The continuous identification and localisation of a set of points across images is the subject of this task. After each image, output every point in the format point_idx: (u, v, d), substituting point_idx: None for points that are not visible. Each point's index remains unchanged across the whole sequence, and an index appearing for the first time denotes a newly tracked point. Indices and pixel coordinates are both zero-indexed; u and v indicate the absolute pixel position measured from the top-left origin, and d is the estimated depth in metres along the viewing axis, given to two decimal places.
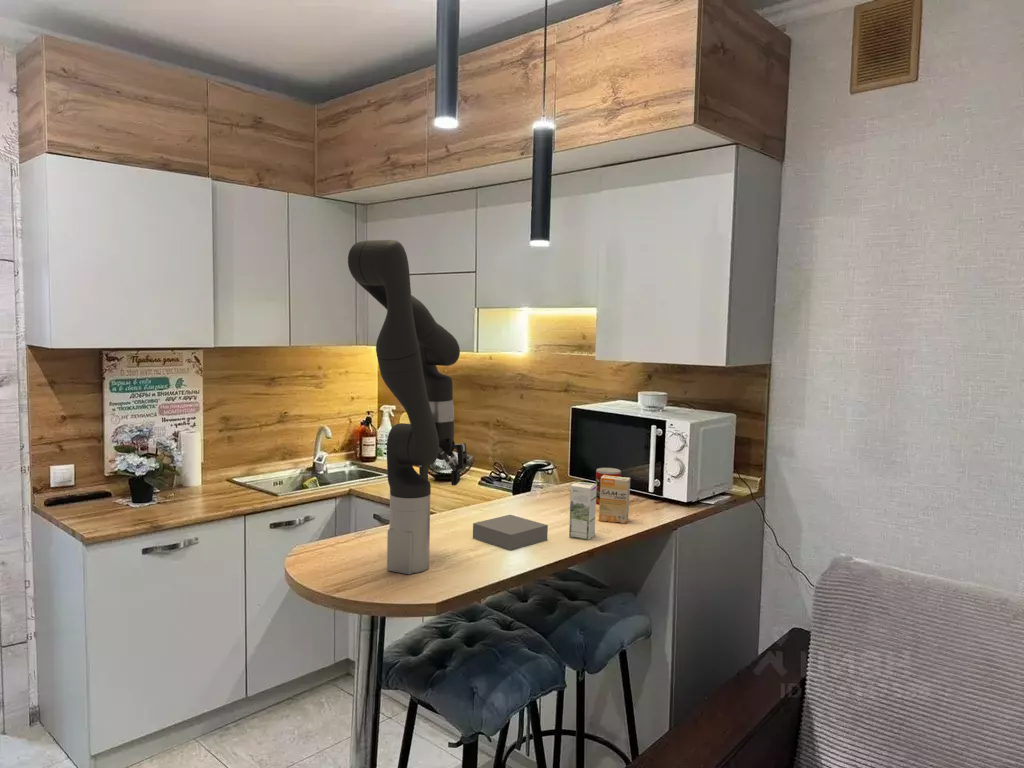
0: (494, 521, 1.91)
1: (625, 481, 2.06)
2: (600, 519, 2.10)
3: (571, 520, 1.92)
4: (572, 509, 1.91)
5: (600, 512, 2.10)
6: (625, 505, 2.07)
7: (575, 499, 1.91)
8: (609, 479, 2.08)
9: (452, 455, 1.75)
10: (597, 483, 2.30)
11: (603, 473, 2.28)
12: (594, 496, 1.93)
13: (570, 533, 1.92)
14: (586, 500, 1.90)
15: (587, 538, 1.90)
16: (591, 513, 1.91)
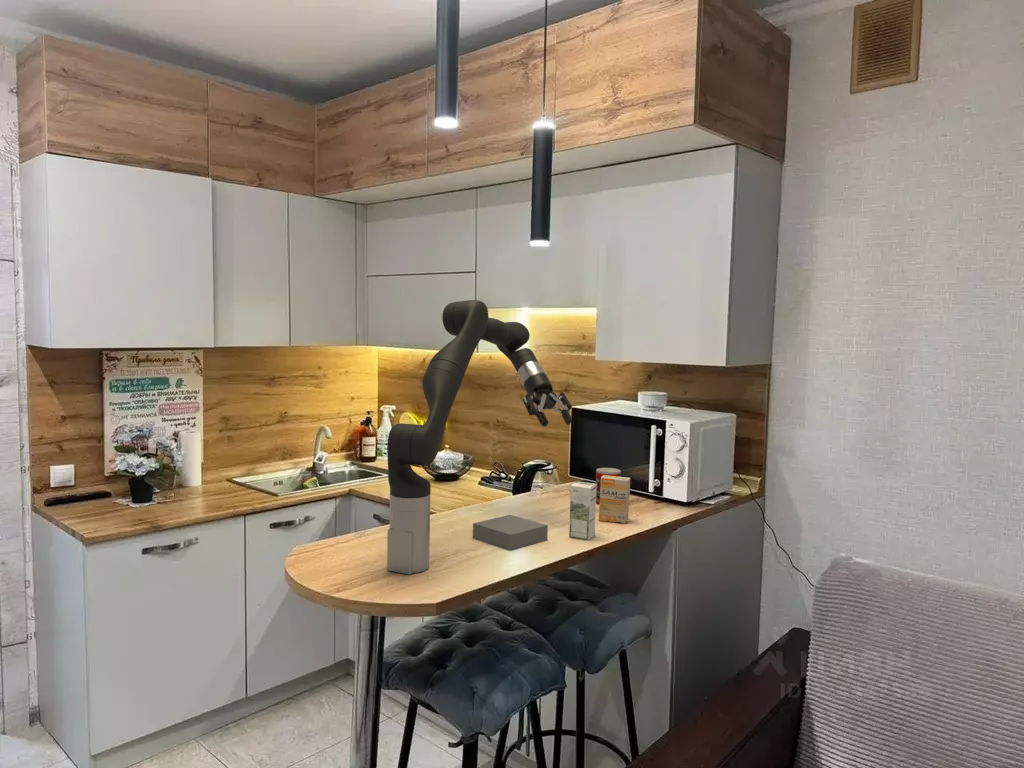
0: (494, 521, 1.91)
1: (625, 481, 2.06)
2: (600, 519, 2.10)
3: (571, 520, 1.92)
4: (572, 509, 1.91)
5: (600, 512, 2.10)
6: (625, 505, 2.07)
7: (575, 499, 1.91)
8: (609, 479, 2.08)
9: (554, 406, 2.07)
10: (597, 483, 2.30)
11: (603, 473, 2.28)
12: (594, 496, 1.93)
13: (570, 533, 1.92)
14: (586, 500, 1.90)
15: (587, 538, 1.90)
16: (591, 513, 1.91)
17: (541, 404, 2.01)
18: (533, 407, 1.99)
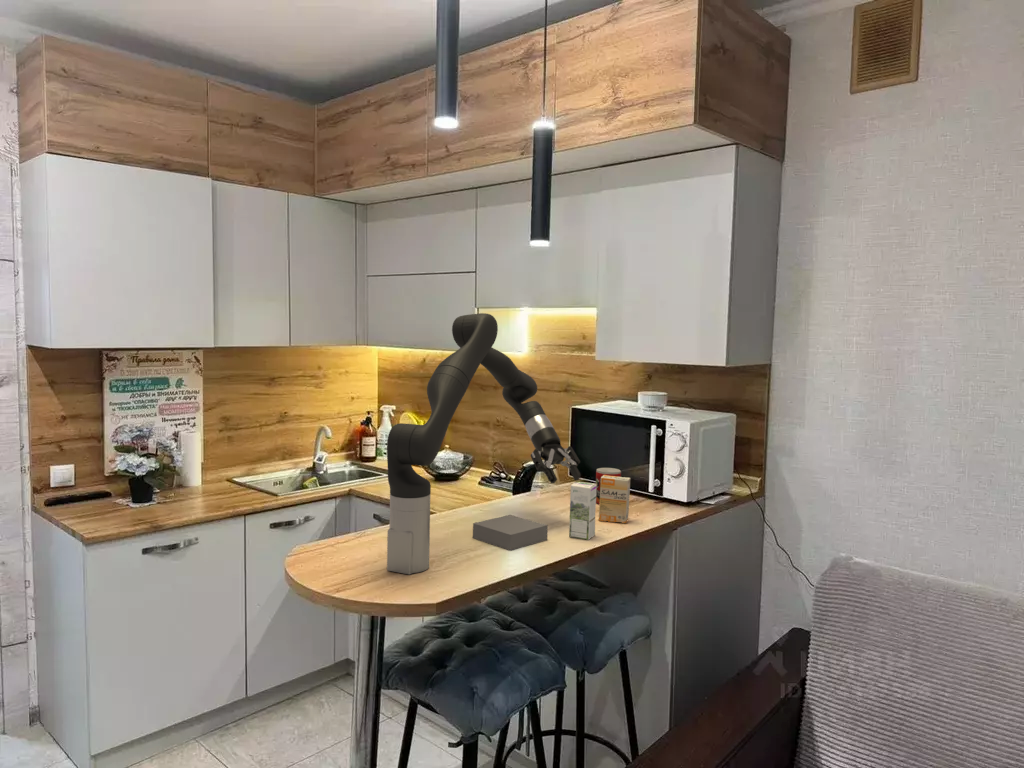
0: (494, 521, 1.91)
1: (625, 481, 2.06)
2: (600, 519, 2.10)
3: (571, 520, 1.92)
4: (572, 509, 1.91)
5: (600, 512, 2.10)
6: (625, 505, 2.07)
7: (575, 499, 1.91)
8: (609, 479, 2.08)
9: (562, 461, 2.05)
10: (597, 483, 2.30)
11: (603, 473, 2.28)
12: (594, 496, 1.93)
13: (570, 533, 1.92)
14: (586, 500, 1.90)
15: (587, 538, 1.90)
16: (591, 513, 1.91)
17: (549, 460, 1.99)
18: (541, 463, 1.97)
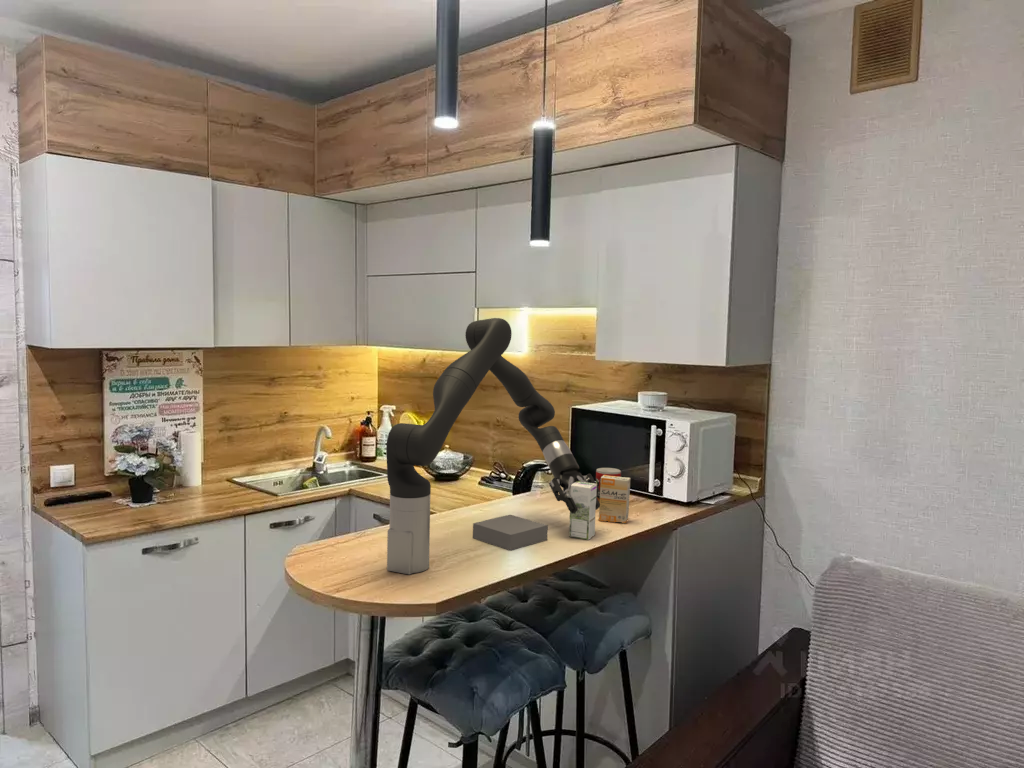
0: (494, 521, 1.91)
1: (625, 481, 2.06)
2: (600, 519, 2.10)
3: (571, 520, 1.92)
4: None
5: (600, 512, 2.10)
6: (625, 505, 2.07)
7: (575, 499, 1.91)
8: (609, 479, 2.08)
9: None
10: (597, 483, 2.30)
11: (603, 473, 2.28)
12: (594, 496, 1.93)
13: (570, 533, 1.92)
14: (586, 500, 1.90)
15: (587, 538, 1.90)
16: (591, 513, 1.91)
17: (569, 489, 1.92)
18: (561, 493, 1.90)
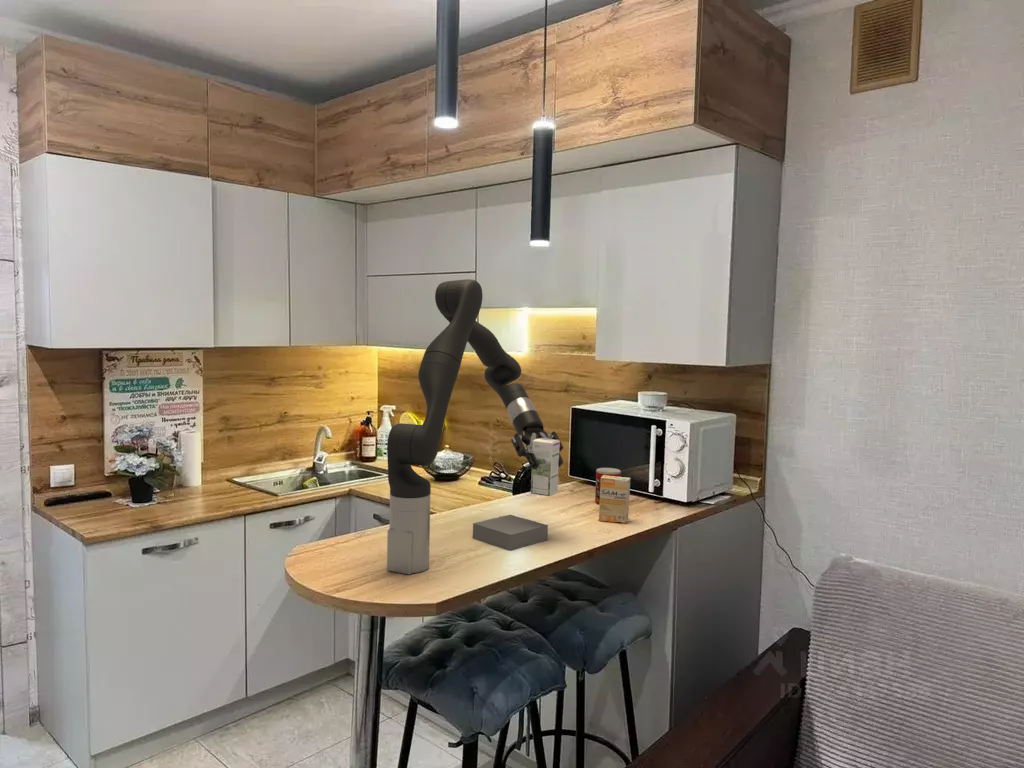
0: (494, 521, 1.91)
1: (625, 481, 2.06)
2: (600, 519, 2.10)
3: (533, 476, 1.88)
4: None
5: (600, 512, 2.10)
6: (625, 505, 2.07)
7: (537, 454, 1.87)
8: (609, 479, 2.08)
9: None
10: (597, 483, 2.30)
11: (603, 473, 2.28)
12: (557, 452, 1.89)
13: (532, 490, 1.88)
14: (547, 455, 1.86)
15: (548, 494, 1.86)
16: (553, 469, 1.87)
17: (531, 444, 1.88)
18: (522, 448, 1.86)
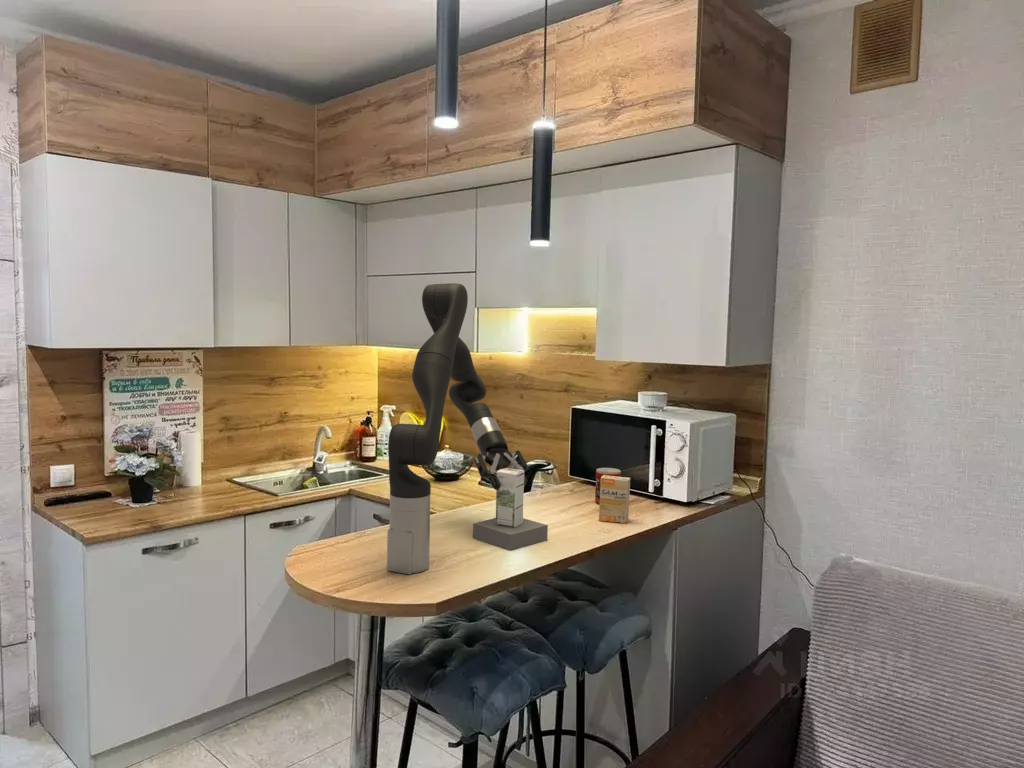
0: (494, 521, 1.91)
1: (625, 481, 2.06)
2: (600, 519, 2.10)
3: (498, 507, 1.87)
4: (498, 496, 1.87)
5: (600, 512, 2.10)
6: (625, 505, 2.07)
7: (501, 485, 1.86)
8: (609, 479, 2.08)
9: (509, 466, 1.94)
10: (597, 483, 2.30)
11: (603, 473, 2.28)
12: (521, 483, 1.88)
13: (496, 520, 1.88)
14: (511, 486, 1.85)
15: (513, 525, 1.86)
16: (517, 500, 1.86)
17: (494, 465, 1.88)
18: (485, 469, 1.87)
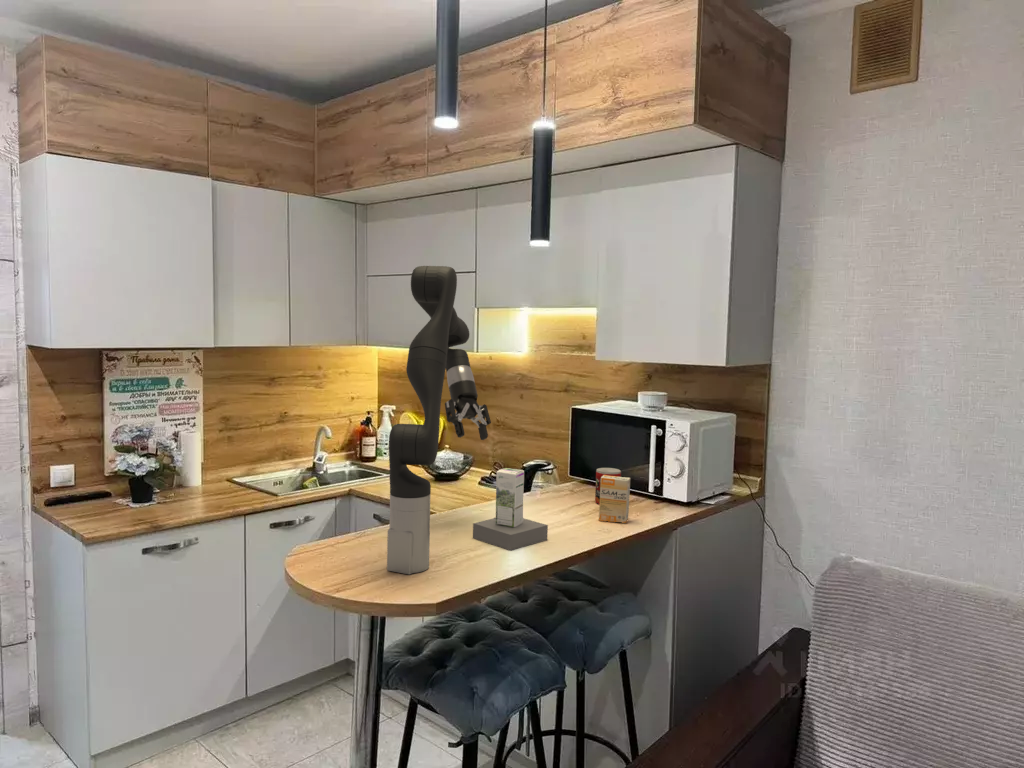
0: (494, 521, 1.91)
1: (625, 481, 2.06)
2: (600, 519, 2.10)
3: (497, 507, 1.87)
4: (498, 496, 1.87)
5: (600, 512, 2.10)
6: (625, 505, 2.07)
7: (501, 485, 1.86)
8: (609, 479, 2.08)
9: (473, 417, 2.01)
10: (597, 483, 2.30)
11: (603, 473, 2.28)
12: (521, 483, 1.88)
13: (496, 520, 1.88)
14: (511, 486, 1.85)
15: (513, 525, 1.86)
16: (517, 500, 1.86)
17: (462, 414, 1.95)
18: (453, 415, 1.93)
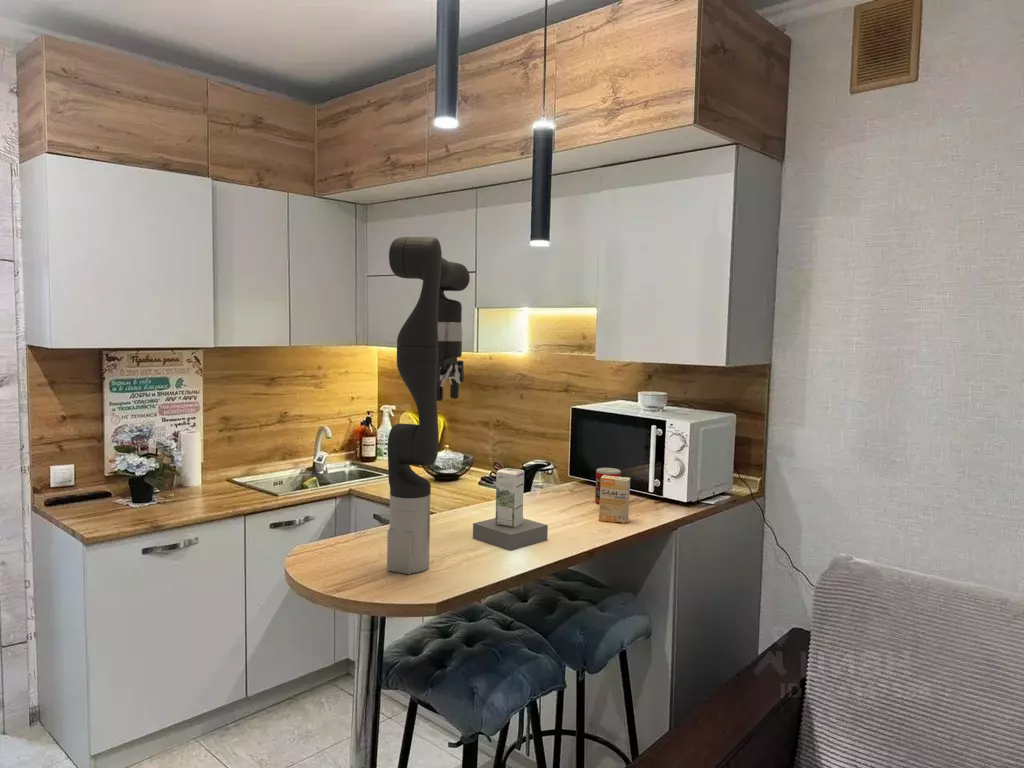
0: (494, 521, 1.91)
1: (625, 481, 2.06)
2: (600, 519, 2.10)
3: (497, 507, 1.87)
4: (498, 496, 1.87)
5: (600, 512, 2.10)
6: (625, 505, 2.07)
7: (501, 485, 1.86)
8: (609, 479, 2.08)
9: None
10: (597, 483, 2.30)
11: (603, 473, 2.28)
12: (521, 483, 1.88)
13: (496, 520, 1.88)
14: (511, 486, 1.85)
15: (513, 525, 1.86)
16: (517, 500, 1.86)
17: (445, 378, 1.88)
18: (438, 380, 1.86)
